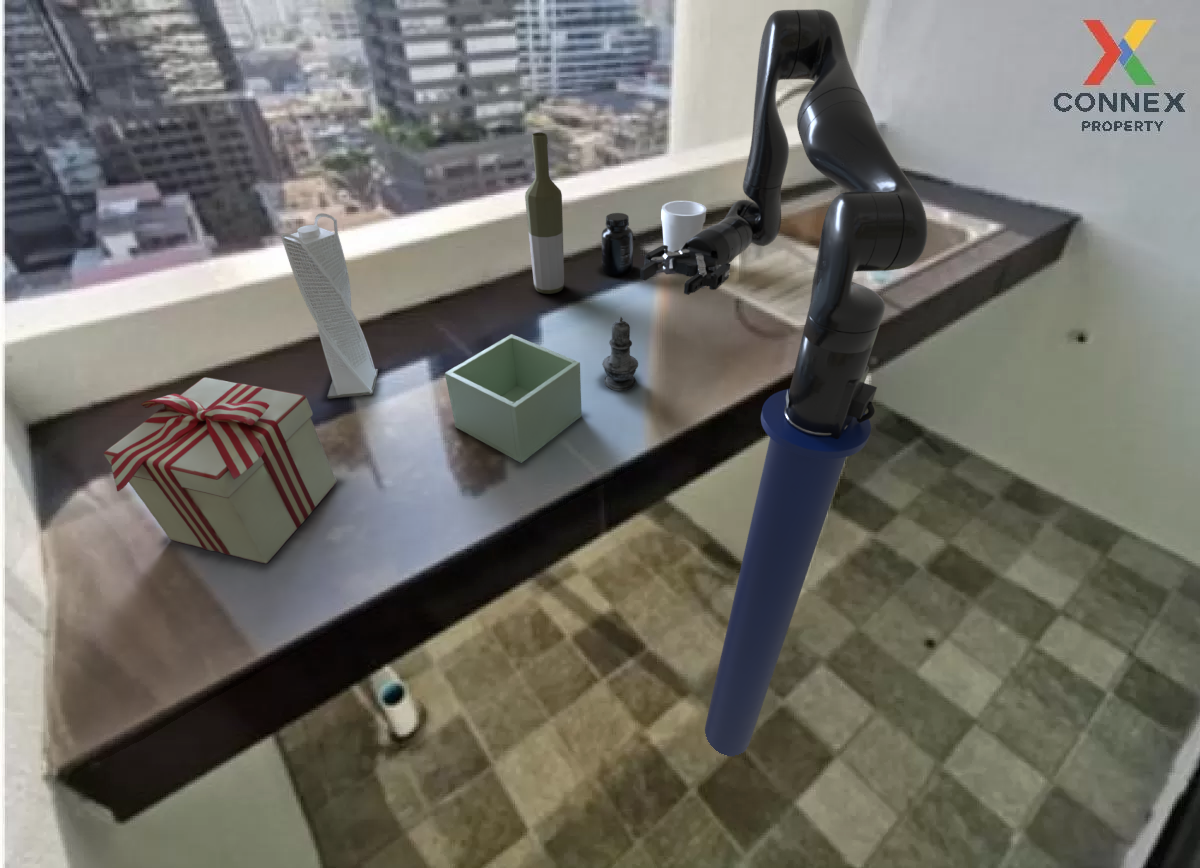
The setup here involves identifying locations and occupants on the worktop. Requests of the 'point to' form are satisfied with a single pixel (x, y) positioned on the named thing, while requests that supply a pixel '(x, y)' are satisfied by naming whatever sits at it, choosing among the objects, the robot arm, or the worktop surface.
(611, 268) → the supplement bottle
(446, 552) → the worktop surface
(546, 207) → the bottle
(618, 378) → the dark grey turned piece
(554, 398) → the waste bin
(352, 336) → the skyscraper
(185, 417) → the gift box
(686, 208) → the foam cup
